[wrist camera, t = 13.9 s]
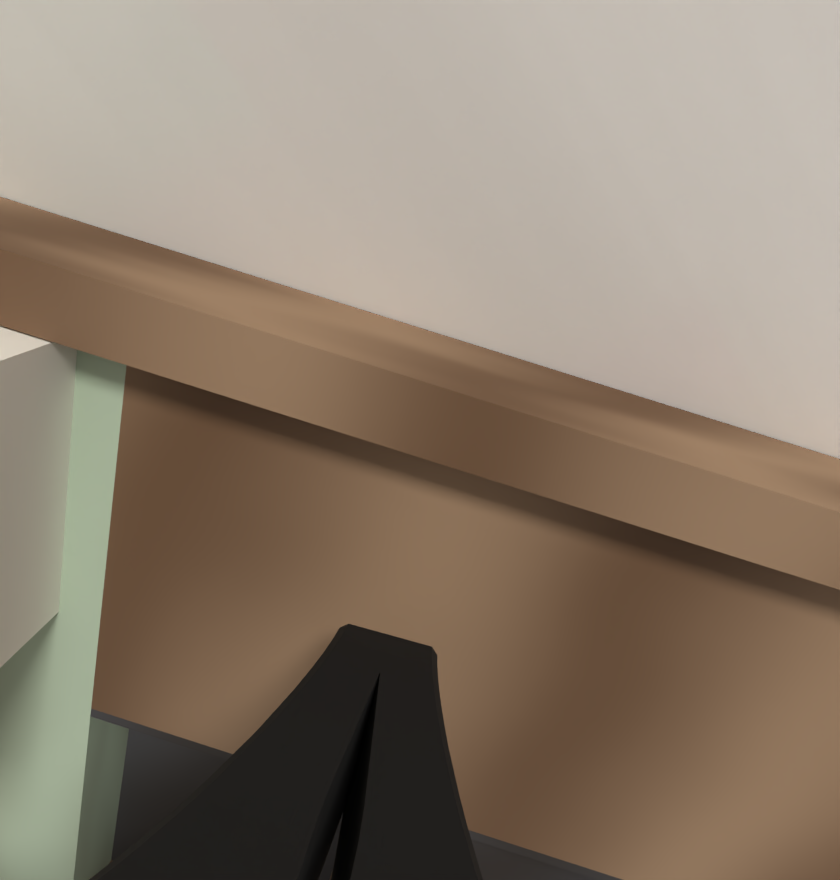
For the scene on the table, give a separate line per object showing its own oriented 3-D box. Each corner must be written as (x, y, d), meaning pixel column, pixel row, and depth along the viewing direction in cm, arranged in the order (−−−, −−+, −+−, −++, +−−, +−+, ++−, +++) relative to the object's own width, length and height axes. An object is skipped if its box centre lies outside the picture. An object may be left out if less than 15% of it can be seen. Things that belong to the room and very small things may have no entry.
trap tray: (1282, 597, 10) (1517, 724, 8) (785, 1090, 16) (831, 1246, 14) (-208, 132, 11) (-419, 117, 8) (-143, 789, 17) (-250, 891, 14)
